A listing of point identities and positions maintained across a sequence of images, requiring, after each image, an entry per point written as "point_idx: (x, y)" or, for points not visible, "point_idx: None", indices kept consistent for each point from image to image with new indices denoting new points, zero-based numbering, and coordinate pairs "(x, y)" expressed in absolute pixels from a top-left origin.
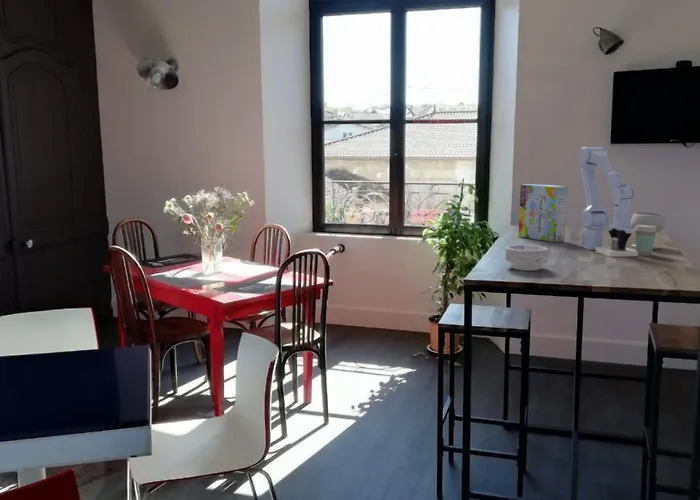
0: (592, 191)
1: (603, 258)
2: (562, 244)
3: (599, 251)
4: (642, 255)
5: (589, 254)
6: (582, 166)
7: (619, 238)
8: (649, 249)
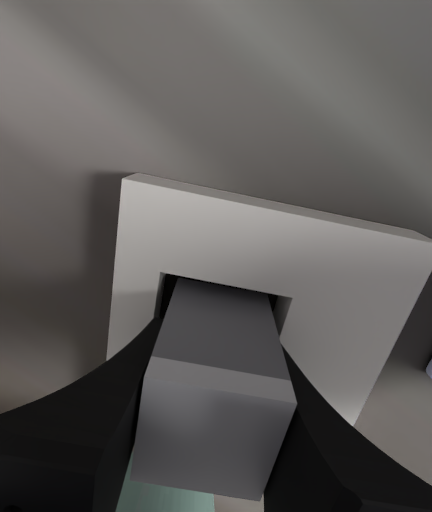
0: None
1: (55, 19)
2: None
3: (344, 218)
4: None
5: (315, 37)
6: None
7: (80, 382)
8: None
